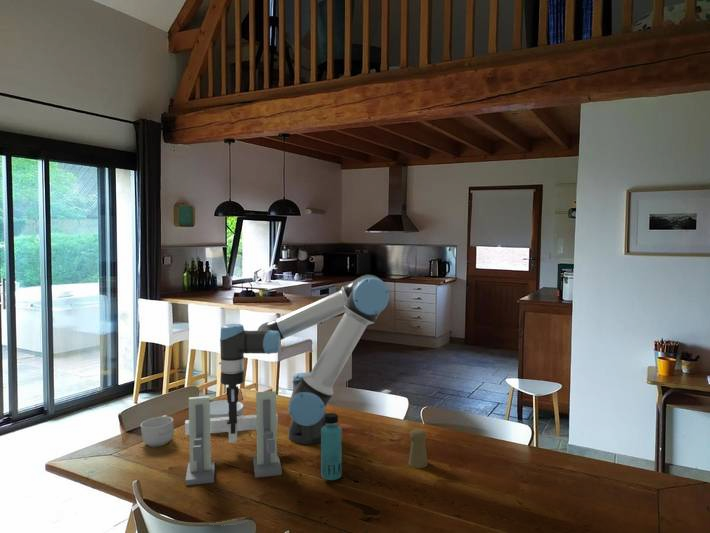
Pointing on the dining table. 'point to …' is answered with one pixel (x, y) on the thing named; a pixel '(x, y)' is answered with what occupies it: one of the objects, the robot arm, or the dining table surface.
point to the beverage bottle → (331, 448)
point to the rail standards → (199, 437)
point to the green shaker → (418, 449)
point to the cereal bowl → (223, 409)
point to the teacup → (157, 431)
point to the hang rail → (221, 424)
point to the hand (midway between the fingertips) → (232, 439)
